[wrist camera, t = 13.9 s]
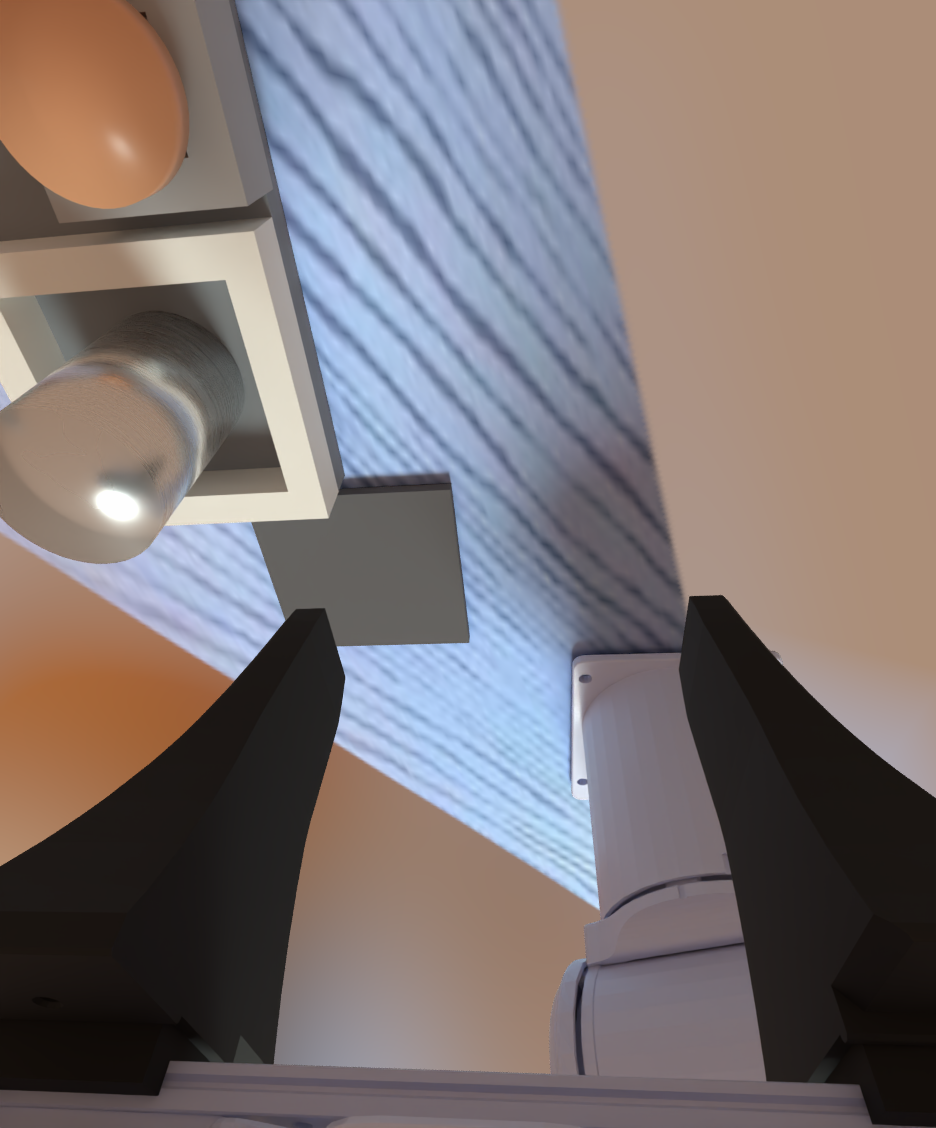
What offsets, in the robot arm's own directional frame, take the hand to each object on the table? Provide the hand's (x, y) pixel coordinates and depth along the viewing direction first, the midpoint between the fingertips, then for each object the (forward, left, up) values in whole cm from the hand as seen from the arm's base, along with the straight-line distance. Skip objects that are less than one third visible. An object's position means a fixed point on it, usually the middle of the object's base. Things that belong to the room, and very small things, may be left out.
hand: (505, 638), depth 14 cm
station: (+5, +10, -9) cm, 14 cm away
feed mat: (-6, +6, -9) cm, 12 cm away
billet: (+2, +10, -8) cm, 13 cm away
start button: (+9, +7, -8) cm, 14 cm away
